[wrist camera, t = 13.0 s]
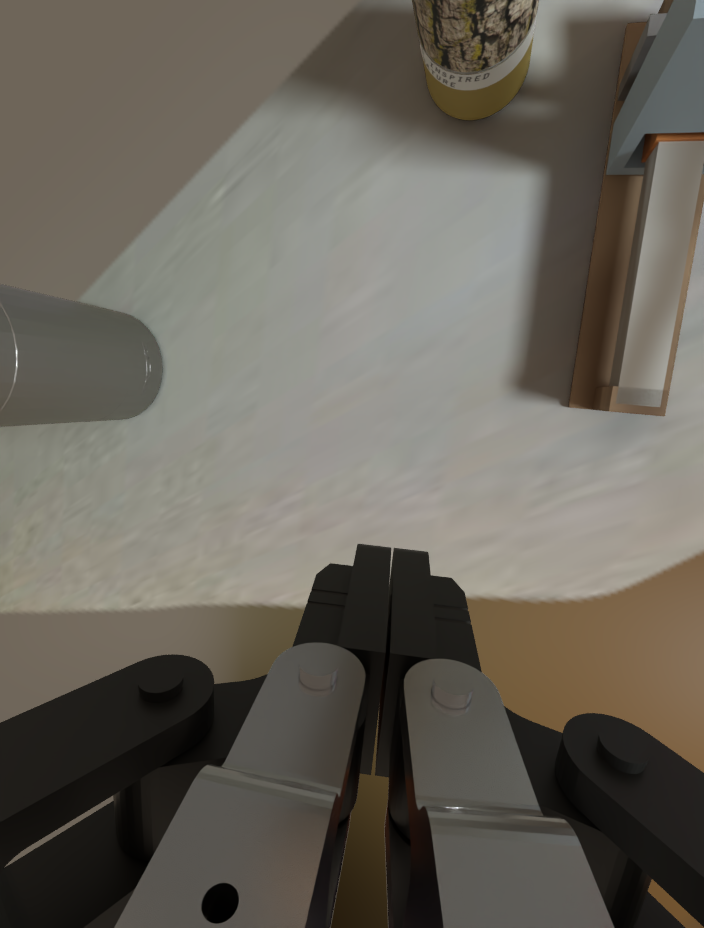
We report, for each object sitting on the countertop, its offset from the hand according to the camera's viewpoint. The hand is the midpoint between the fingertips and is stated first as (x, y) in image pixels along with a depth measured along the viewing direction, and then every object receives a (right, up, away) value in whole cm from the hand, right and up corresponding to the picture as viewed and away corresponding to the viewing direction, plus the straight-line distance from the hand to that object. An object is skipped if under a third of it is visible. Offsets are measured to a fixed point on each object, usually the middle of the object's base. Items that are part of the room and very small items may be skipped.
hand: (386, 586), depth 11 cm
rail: (+19, +18, +23) cm, 34 cm away
